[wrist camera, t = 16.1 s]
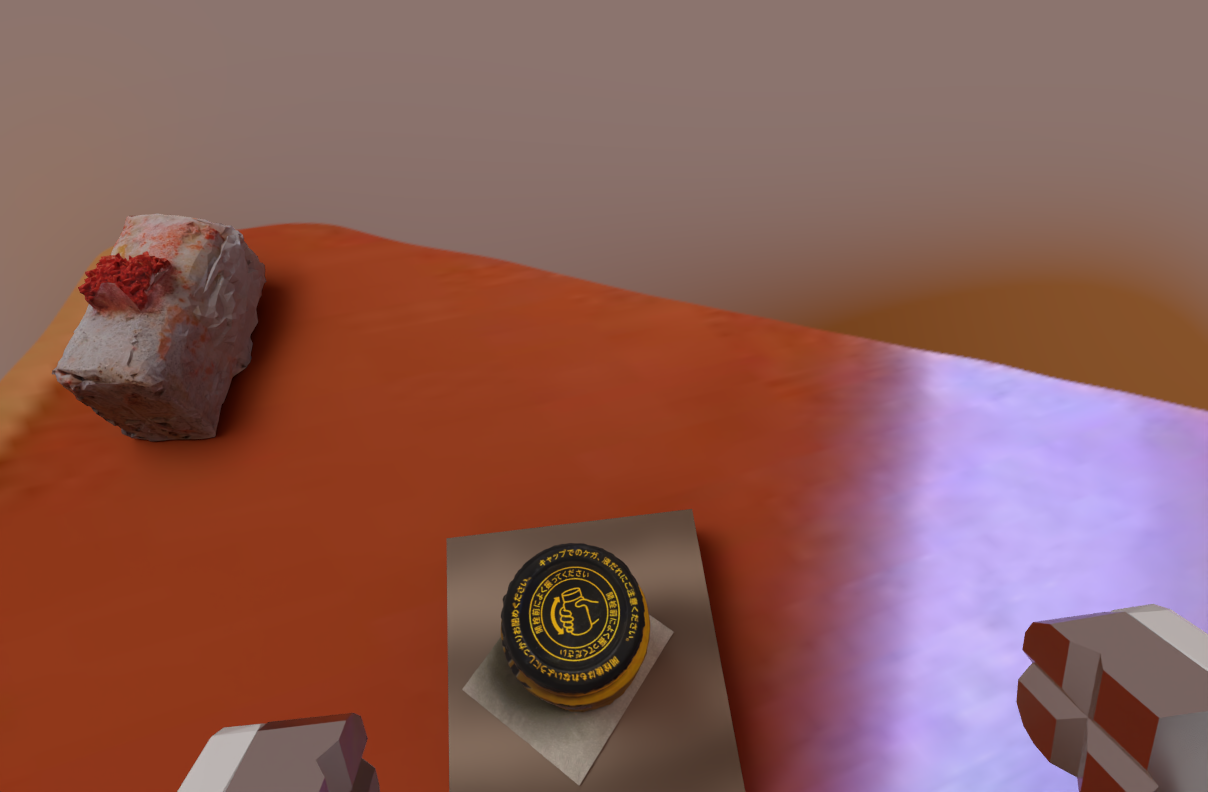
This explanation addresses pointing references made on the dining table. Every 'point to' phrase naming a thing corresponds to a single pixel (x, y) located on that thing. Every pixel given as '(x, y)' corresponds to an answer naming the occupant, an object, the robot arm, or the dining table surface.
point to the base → (660, 706)
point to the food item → (165, 327)
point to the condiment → (569, 653)
